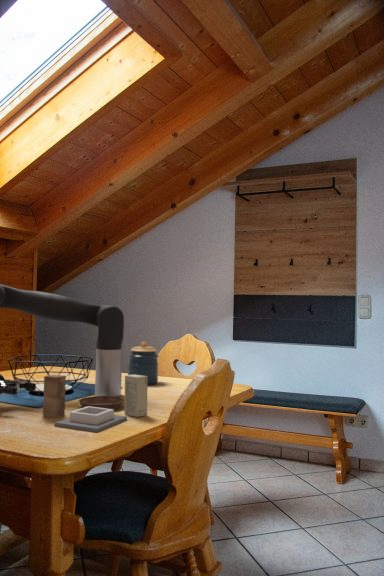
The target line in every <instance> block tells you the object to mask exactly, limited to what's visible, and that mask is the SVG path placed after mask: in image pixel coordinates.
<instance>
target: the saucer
mask: <svg viewBox="0 0 384 576" xmlns="http://www.w3.org/2000/svg"><path fill="white" fill-rule="evenodd" d="M78 402H79V404H80V405H81V407H82V408H84V407H87V406H91V407H98V408H106V409H114V411H115V410H117V409H118V408H120V407H121V406H122V404H124V403H125V398H123V397H120V396H117V397H110V396H89V397H83V398H82V397H81V398H80V399H79V400H78Z"/></svg>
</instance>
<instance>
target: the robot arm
mask: <svg viewBox="0 0 384 576" xmlns="http://www.w3.org/2000/svg"><path fill="white" fill-rule="evenodd" d="M0 308H3V309H10V310H16V311H19V312H23V313H26V314H29V315H32V316H34V317H38V318H41V319H46V320H52V321H58V322H59V321H60V322H69V323H70V322H71V323H72V322H73V323H83V324H88V325H92V326H94V327H97V331H98V332H97V340H96V348H95V350H96V353H95V376H94V377H95V378H94V379H95V381H94V382H95V384H94V397H96V396H110V397H120V396H121V394H122V372H123V371H122V346H123V345H122V344H123V340H124V332H125V331H124V329H125V328H124V327H125V326H124V325H125V315H124V313H123V310H122V309H121V308H119V307H118V306H116V305H110V304H94V303H88V302H87V303H86V302H83V301H81V300H78V299H75V298H71V297H70V296H69V297H68V296H65V295H61V294H56V293H51V292H45V291H38V290H25V289H19V288H15V287H11V286H9V285H5V284H1V283H0ZM36 389H37V384H36V383H35V382H30V380H29V379H28V380H27V379H19V378H18V379H16V378H15V379H9V378H8V379H5V377H4V376H3V374H1V373H0V396H1V395H3V396H5V395H13V396H15V395H18V392H19V391H21V390H22V391H23V390H25V391H26V390H27V391H36Z"/></svg>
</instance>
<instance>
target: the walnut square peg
mask: <svg viewBox="0 0 384 576" xmlns="http://www.w3.org/2000/svg"><path fill="white" fill-rule="evenodd" d="M43 379H44V380H43V403H42V404H43V405H42V417H46V418H53V419H56V418H57V419H58V418H60V417H63V416H65V413H66V411H65V410H66V409H65V408H66V383H67V382H66V381H67V380H66V379H67V376H66V375H64V374H63V375H62V374H61V375H60V374H49V375H45V376H43Z"/></svg>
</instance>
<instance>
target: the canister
mask: <svg viewBox="0 0 384 576" xmlns="http://www.w3.org/2000/svg"><path fill="white" fill-rule="evenodd" d="M157 351H158V350H157V349H156V348H155V347H154V346H148V343H147V342H146V341H142V342H140V345H139V346H133V347H132V348H131V349H130V353H129V354H128V355H127V356H128V358H129V361H128V362H127V365H128V367H127V369H128V371H127V375H134V374H135V375H142V376H147V386H153V385H156V384H158V381H159V377H158V375H159V374H158V372H159V371H158V370H159V362H158V358H159V354H157Z"/></svg>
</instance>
